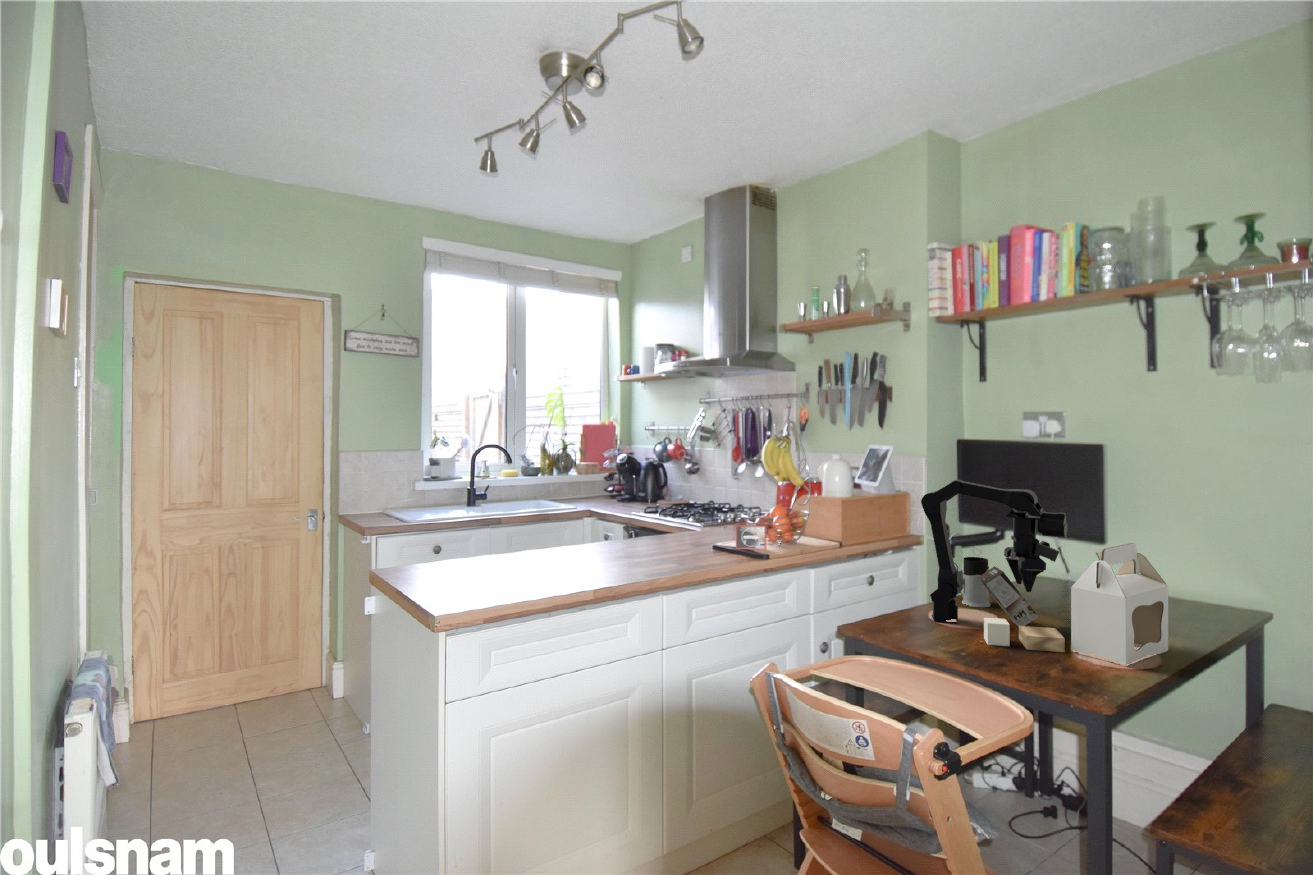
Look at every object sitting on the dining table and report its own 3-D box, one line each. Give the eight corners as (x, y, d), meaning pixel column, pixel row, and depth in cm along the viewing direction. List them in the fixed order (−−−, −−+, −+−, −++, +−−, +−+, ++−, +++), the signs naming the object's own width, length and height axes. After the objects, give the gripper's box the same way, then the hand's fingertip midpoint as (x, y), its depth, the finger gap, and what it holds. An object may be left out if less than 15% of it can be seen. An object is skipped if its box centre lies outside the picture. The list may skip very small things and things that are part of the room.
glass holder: (991, 608, 218) (991, 562, 217) (944, 604, 223) (943, 559, 223) (989, 601, 226) (989, 557, 225) (943, 597, 231) (943, 554, 231)
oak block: (1026, 650, 179) (1026, 635, 179) (1018, 640, 187) (1018, 625, 187) (1064, 653, 176) (1064, 638, 176) (1055, 642, 185) (1055, 628, 185)
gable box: (1114, 637, 187) (1114, 538, 187) (1169, 650, 176) (1169, 545, 175) (1070, 652, 176) (1069, 546, 176) (1125, 667, 165) (1125, 554, 164)
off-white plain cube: (987, 644, 183) (987, 623, 183) (984, 638, 188) (983, 617, 188) (1009, 646, 181) (1009, 624, 181) (1005, 640, 187) (1005, 618, 186)
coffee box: (1039, 616, 195) (1004, 571, 196) (1020, 629, 196) (985, 584, 197) (1029, 608, 204) (994, 565, 205) (1010, 620, 205) (976, 577, 206)
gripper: (1067, 541, 180) (1066, 598, 181) (1045, 529, 198) (1044, 581, 199) (1022, 539, 183) (1021, 595, 183) (1004, 528, 201) (1003, 579, 202)
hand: (1023, 587), depth 192 cm, fingers open, 9 cm apart
